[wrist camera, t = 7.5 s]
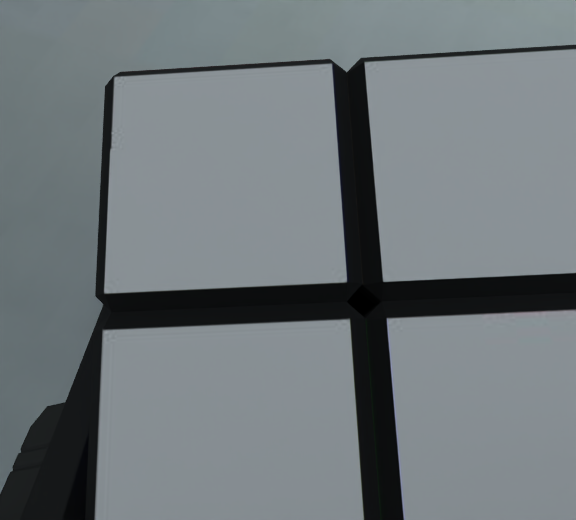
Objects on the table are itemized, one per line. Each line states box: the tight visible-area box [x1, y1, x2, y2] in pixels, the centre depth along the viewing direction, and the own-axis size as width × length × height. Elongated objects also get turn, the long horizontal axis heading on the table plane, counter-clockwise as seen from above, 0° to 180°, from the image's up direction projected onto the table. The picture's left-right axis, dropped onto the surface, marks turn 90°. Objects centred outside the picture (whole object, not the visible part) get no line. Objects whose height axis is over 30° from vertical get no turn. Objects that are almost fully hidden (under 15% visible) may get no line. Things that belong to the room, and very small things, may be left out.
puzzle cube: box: [85, 45, 576, 520], centre depth 12 cm, size 10×10×10 cm
